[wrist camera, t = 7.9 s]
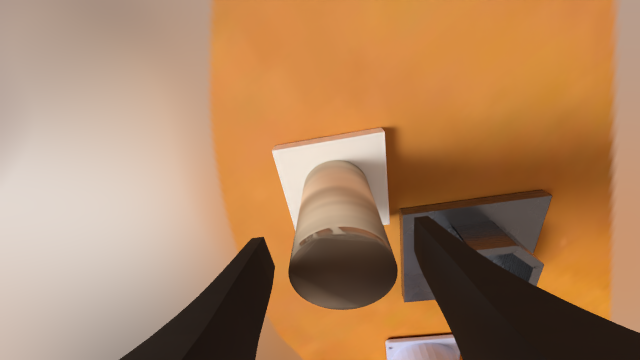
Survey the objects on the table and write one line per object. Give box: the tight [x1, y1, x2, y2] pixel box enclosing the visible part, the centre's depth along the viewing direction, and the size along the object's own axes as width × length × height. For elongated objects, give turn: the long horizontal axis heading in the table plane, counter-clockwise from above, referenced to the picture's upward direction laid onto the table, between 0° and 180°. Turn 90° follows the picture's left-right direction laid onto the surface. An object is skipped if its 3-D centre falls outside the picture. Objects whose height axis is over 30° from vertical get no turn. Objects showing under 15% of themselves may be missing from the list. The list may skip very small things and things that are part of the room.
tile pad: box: [272, 128, 390, 231], centre depth 16 cm, size 7×7×1 cm
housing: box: [400, 190, 552, 302], centre depth 18 cm, size 10×10×3 cm
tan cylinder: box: [289, 160, 398, 310], centre depth 12 cm, size 4×4×7 cm
